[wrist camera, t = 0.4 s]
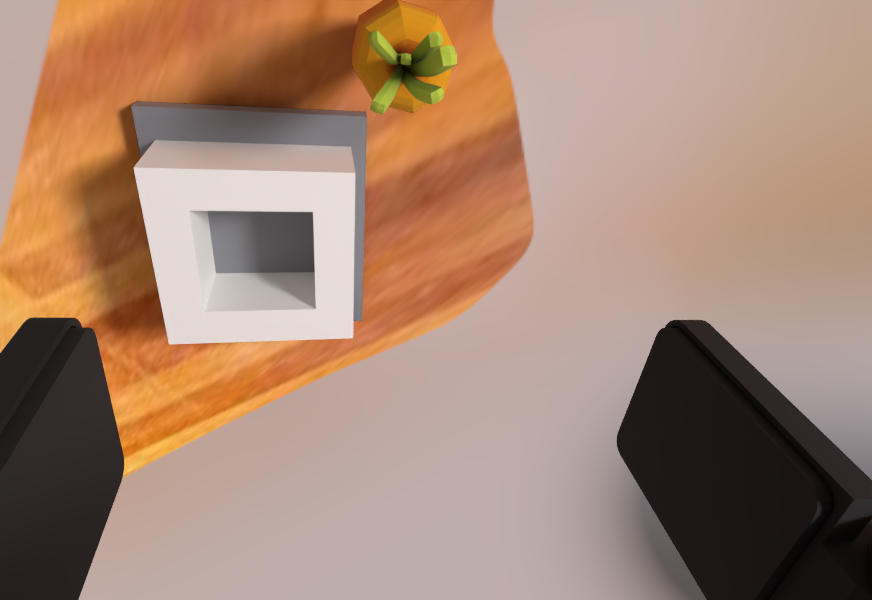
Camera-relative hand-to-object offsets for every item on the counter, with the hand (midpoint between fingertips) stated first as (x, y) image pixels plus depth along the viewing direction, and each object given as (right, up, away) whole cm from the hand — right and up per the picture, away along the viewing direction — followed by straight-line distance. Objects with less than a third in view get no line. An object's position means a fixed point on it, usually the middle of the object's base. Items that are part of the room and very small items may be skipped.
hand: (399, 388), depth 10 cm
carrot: (-3, +18, +25) cm, 31 cm away
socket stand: (-12, +7, +30) cm, 33 cm away
